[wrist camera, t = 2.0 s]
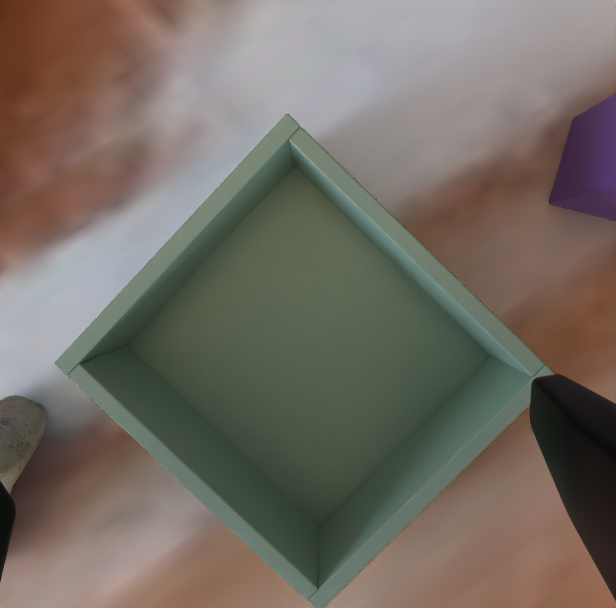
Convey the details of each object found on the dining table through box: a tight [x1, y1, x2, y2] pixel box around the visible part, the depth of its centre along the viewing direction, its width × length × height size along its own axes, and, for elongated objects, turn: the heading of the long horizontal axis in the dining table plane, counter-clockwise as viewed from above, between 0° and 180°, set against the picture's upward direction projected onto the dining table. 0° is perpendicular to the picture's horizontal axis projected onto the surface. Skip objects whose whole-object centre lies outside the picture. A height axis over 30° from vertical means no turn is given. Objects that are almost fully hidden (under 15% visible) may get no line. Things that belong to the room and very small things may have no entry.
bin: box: [55, 114, 555, 608], centre depth 20 cm, size 12×11×5 cm
